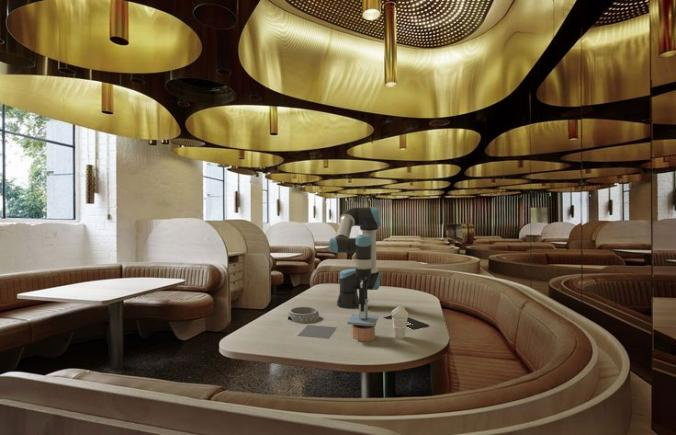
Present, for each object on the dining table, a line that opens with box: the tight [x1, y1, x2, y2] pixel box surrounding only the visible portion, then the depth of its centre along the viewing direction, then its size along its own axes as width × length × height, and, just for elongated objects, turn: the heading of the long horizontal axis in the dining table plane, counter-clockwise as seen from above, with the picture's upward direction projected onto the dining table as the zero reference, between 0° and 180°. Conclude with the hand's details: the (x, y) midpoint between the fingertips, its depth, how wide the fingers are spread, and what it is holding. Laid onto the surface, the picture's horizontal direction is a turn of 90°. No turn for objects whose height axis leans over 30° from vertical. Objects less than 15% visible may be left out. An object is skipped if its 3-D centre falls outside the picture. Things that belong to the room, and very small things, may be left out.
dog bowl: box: [287, 306, 320, 324], centre depth 183 cm, size 17×18×5 cm
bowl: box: [350, 325, 376, 343], centre depth 155 cm, size 11×11×6 cm
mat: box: [297, 324, 338, 340], centre depth 161 cm, size 16×16×1 cm
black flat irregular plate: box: [382, 314, 430, 331], centre depth 178 cm, size 25×1×15 cm
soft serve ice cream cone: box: [390, 303, 409, 340], centre depth 155 cm, size 8×8×16 cm
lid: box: [347, 298, 379, 327], centre depth 155 cm, size 13×13×10 cm
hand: (363, 316), depth 155 cm, fingers closed on lid, 4 cm apart
